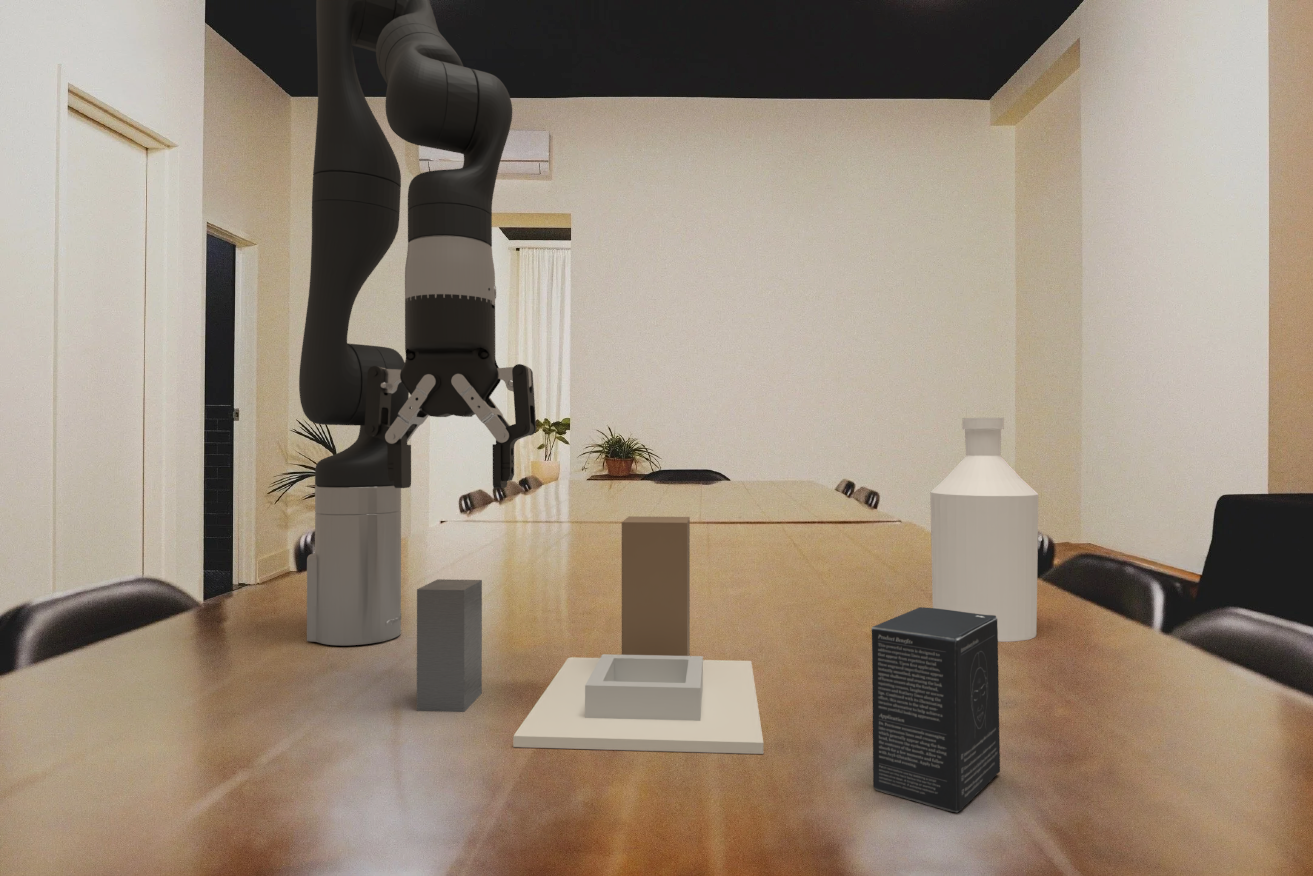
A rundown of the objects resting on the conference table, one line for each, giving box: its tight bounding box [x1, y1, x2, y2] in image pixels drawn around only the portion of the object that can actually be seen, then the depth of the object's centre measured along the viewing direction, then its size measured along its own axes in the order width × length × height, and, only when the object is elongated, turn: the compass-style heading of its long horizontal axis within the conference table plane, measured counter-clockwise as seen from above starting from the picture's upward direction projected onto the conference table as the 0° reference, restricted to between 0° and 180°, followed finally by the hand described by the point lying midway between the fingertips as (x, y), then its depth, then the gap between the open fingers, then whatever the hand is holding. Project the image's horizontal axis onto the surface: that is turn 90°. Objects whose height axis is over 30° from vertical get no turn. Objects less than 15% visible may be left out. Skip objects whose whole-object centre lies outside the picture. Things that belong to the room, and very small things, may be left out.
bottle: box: [929, 417, 1039, 643], centre depth 97 cm, size 12×12×25 cm
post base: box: [512, 515, 764, 755], centre depth 70 cm, size 18×22×15 cm
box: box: [871, 606, 1001, 813], centre depth 53 cm, size 8×6×11 cm
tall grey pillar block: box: [416, 578, 483, 713], centre depth 70 cm, size 4×5×10 cm
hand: (451, 487), depth 70 cm, fingers open, 8 cm apart
